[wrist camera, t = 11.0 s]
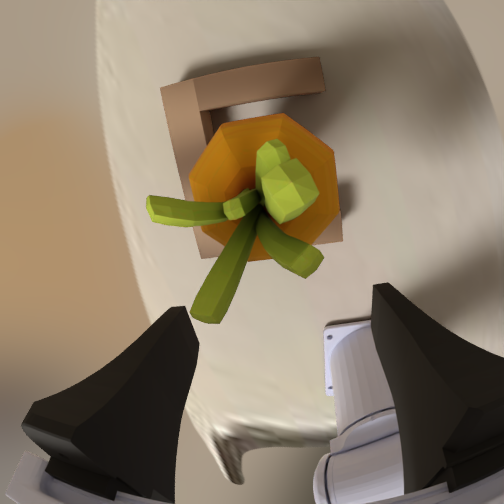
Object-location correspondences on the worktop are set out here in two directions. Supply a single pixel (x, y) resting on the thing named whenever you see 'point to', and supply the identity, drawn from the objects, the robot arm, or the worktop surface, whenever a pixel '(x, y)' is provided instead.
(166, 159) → the worktop surface
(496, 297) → the worktop surface
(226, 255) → the carrot
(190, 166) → the walnut bracket
